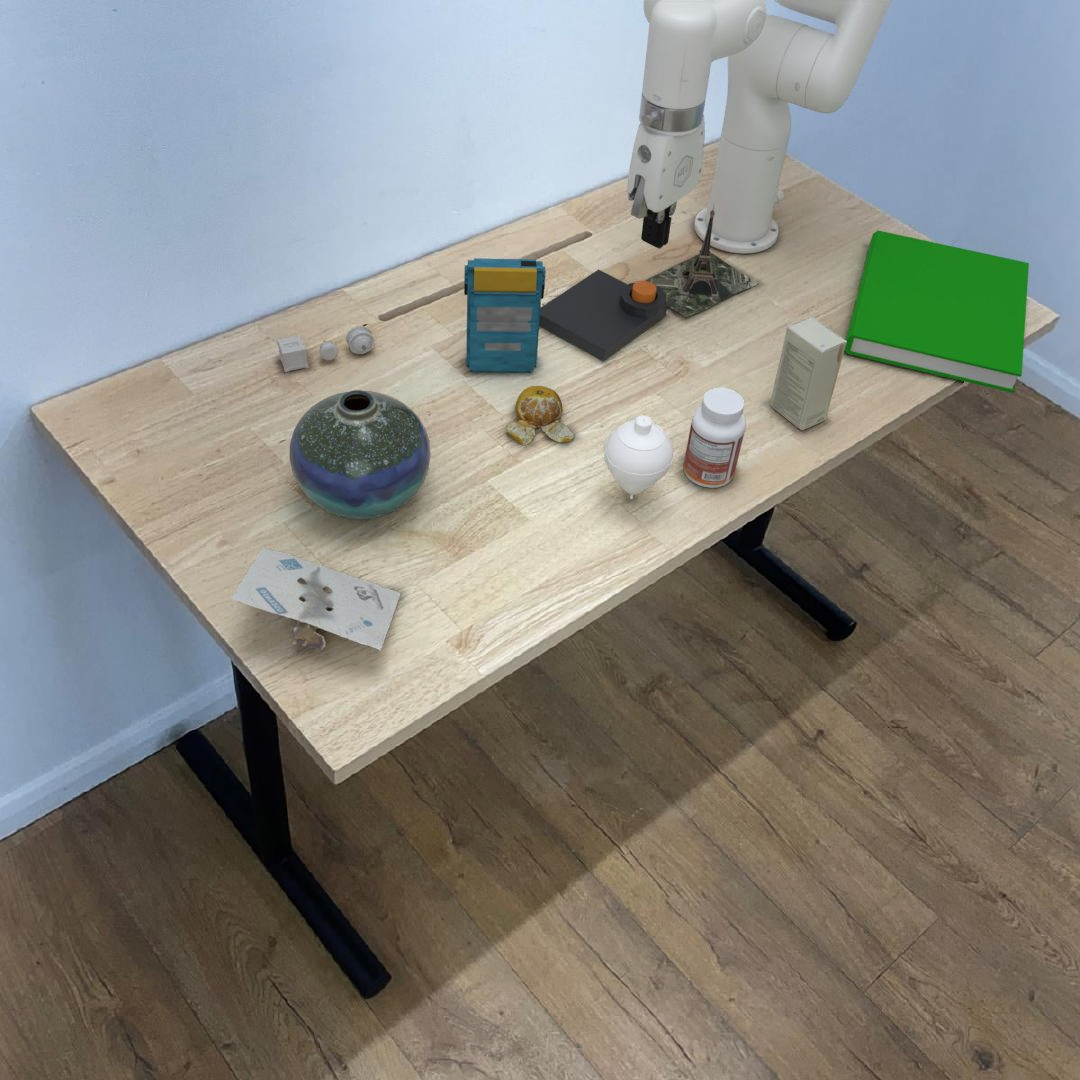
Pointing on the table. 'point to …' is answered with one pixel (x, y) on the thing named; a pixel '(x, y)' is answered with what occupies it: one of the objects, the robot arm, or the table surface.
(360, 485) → the vase
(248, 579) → the card
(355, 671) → the table surface
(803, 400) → the cosmetic box
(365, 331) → the toy set
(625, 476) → the spinning top
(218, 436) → the table surface
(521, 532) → the table surface
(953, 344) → the book
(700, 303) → the eiffel tower figurine
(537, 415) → the fruit
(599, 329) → the dark grey button base
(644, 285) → the button
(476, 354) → the teal case
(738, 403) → the pill bottle
